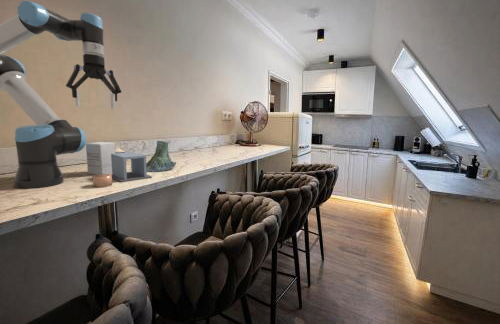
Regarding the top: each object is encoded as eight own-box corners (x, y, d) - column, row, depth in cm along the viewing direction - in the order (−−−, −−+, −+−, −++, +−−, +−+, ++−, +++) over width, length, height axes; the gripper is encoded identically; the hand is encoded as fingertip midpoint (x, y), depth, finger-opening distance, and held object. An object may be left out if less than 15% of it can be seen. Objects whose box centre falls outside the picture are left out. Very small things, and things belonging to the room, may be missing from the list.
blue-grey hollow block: (112, 174, 117) (111, 153, 115) (133, 171, 124) (132, 152, 123) (124, 179, 108) (123, 157, 106) (146, 176, 115) (146, 155, 114)
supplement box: (102, 170, 128) (101, 141, 126) (116, 171, 126) (115, 142, 124) (87, 173, 120) (84, 143, 117) (102, 175, 117) (100, 144, 115)
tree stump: (131, 170, 132) (134, 138, 133) (157, 173, 150) (160, 144, 152) (158, 172, 125) (162, 138, 127) (182, 175, 144) (185, 144, 145)
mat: (107, 176, 116) (106, 174, 116) (136, 172, 127) (136, 171, 127) (120, 182, 106) (120, 180, 106) (151, 177, 116) (151, 176, 116)
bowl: (91, 184, 100) (90, 175, 100) (108, 182, 105) (108, 173, 105) (96, 188, 96) (95, 178, 95) (114, 185, 101) (114, 175, 100)
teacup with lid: (114, 169, 132) (113, 147, 130) (103, 167, 135) (102, 146, 134) (133, 166, 142) (132, 146, 140) (122, 164, 146) (122, 144, 144)
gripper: (59, 46, 91) (63, 105, 94) (128, 61, 110) (129, 109, 113) (54, 49, 95) (58, 105, 99) (121, 62, 114) (122, 109, 118)
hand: (96, 107), depth 106 cm, fingers open, 13 cm apart
